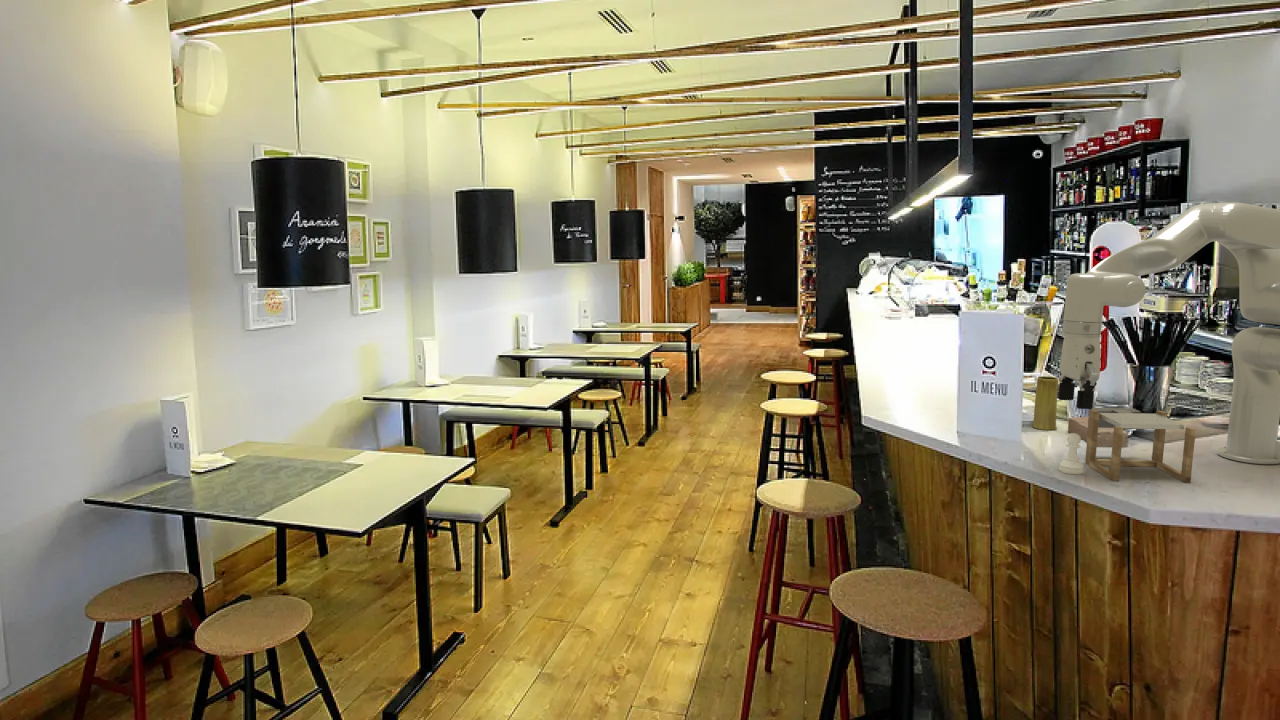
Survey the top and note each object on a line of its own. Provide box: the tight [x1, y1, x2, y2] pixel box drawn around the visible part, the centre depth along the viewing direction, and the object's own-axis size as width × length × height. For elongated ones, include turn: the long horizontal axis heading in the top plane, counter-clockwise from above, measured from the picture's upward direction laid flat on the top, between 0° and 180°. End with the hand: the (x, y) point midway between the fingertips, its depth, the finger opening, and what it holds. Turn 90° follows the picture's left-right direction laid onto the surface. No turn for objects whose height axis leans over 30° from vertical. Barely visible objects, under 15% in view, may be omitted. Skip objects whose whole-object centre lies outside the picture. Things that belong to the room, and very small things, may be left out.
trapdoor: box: [1087, 407, 1185, 430], centre depth 185 cm, size 19×13×4 cm
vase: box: [1031, 375, 1059, 431], centre depth 224 cm, size 6×6×14 cm
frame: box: [1084, 409, 1197, 484], centre depth 181 cm, size 16×14×13 cm
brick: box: [1067, 416, 1129, 449], centre depth 212 cm, size 17×8×5 cm, turn 176°
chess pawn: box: [1058, 433, 1085, 475], centre depth 183 cm, size 5×5×9 cm
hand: (1074, 404), depth 181 cm, fingers open, 9 cm apart
